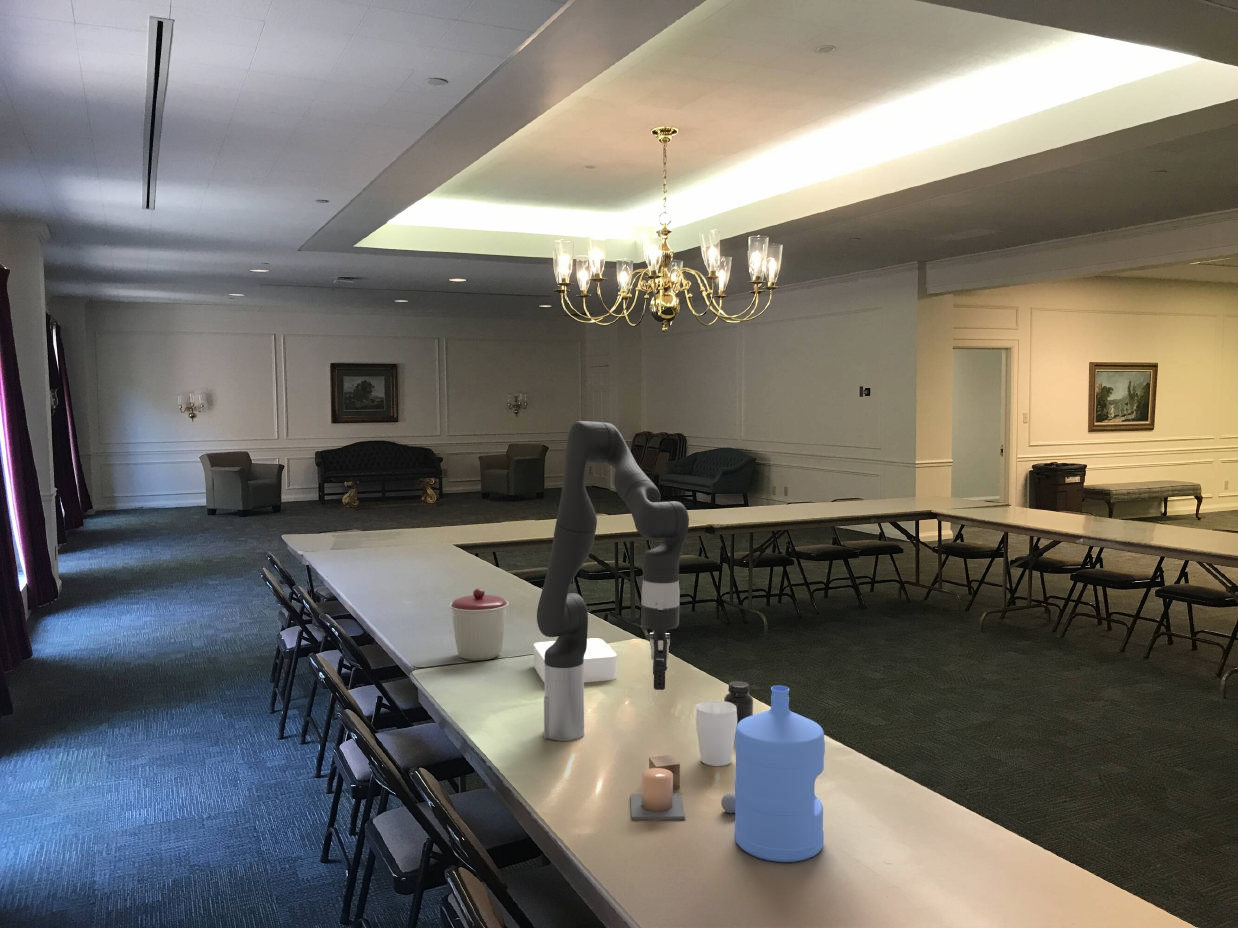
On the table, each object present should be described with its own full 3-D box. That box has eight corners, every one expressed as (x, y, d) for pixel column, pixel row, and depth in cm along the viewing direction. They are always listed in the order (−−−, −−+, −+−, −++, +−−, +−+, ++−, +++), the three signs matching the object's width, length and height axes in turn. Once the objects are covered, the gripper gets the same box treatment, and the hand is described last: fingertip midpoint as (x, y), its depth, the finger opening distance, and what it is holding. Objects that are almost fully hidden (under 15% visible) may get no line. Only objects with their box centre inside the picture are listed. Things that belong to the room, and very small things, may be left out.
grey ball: (722, 816, 172) (722, 797, 172) (720, 807, 176) (720, 789, 176) (741, 816, 172) (741, 797, 172) (738, 807, 176) (739, 789, 176)
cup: (710, 771, 193) (710, 716, 192) (687, 757, 201) (687, 703, 200) (745, 763, 197) (745, 709, 196) (721, 749, 205) (722, 697, 204)
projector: (624, 679, 258) (624, 655, 257) (546, 686, 252) (545, 661, 251) (605, 659, 278) (605, 637, 278) (532, 665, 272) (532, 642, 271)
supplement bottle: (751, 740, 211) (752, 689, 210) (722, 737, 212) (722, 687, 212) (753, 729, 218) (754, 680, 217) (724, 727, 219) (725, 678, 218)
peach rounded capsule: (641, 810, 173) (642, 780, 173) (641, 797, 179) (641, 767, 179) (673, 811, 173) (673, 780, 173) (671, 797, 179) (672, 768, 179)
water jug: (765, 872, 152) (766, 708, 150) (718, 831, 166) (719, 681, 164) (841, 853, 158) (844, 695, 156) (790, 815, 173) (791, 670, 171)
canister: (443, 652, 285) (442, 585, 284) (499, 645, 293) (498, 580, 291) (458, 667, 269) (457, 597, 268) (517, 660, 277) (516, 591, 275)
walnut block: (656, 790, 184) (656, 766, 184) (649, 780, 189) (649, 757, 188) (679, 787, 185) (679, 763, 185) (671, 777, 190) (671, 754, 190)
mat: (631, 819, 171) (631, 816, 171) (630, 796, 181) (630, 793, 181) (684, 819, 171) (684, 816, 171) (681, 796, 181) (681, 793, 181)
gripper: (641, 593, 187) (639, 670, 189) (641, 610, 173) (640, 693, 175) (677, 594, 187) (676, 671, 189) (681, 611, 173) (679, 694, 174)
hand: (658, 681), depth 182 cm, fingers open, 8 cm apart
